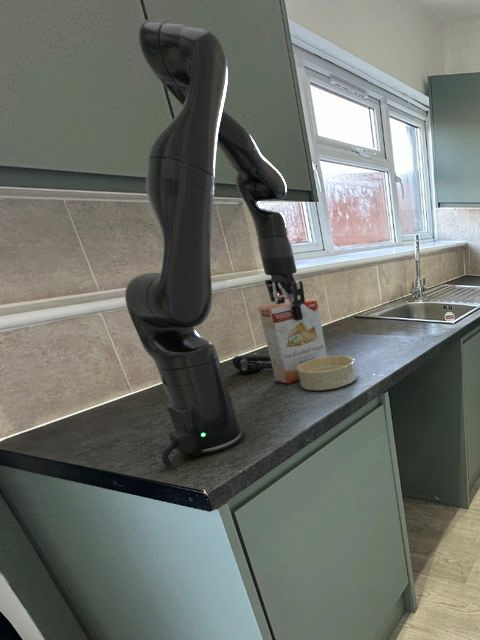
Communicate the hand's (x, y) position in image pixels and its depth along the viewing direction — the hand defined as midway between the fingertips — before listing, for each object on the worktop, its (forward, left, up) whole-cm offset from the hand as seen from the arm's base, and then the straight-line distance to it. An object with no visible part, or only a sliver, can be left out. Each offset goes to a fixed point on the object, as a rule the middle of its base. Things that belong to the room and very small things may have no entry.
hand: (291, 318), depth 114 cm
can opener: (-3, +14, -17) cm, 22 cm away
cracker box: (0, 0, -17) cm, 17 cm away
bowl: (0, -12, -17) cm, 20 cm away
